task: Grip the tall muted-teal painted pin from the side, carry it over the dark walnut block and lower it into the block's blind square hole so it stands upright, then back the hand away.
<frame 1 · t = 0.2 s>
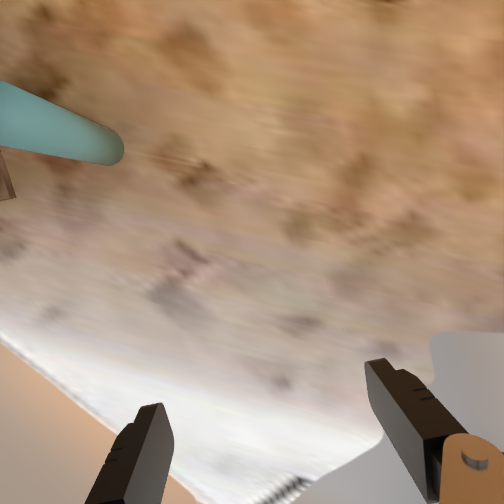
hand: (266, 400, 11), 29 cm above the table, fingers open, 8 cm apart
teal pin: (106, 147, 36), on the table
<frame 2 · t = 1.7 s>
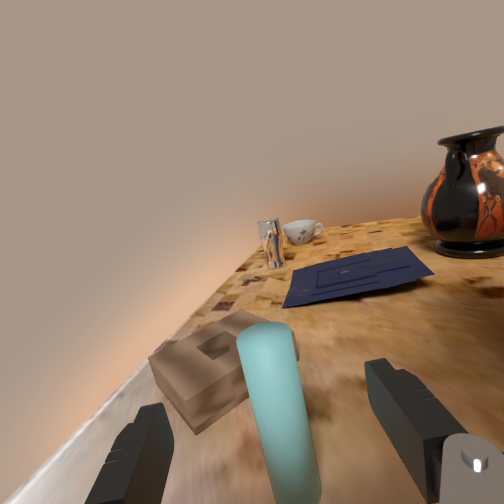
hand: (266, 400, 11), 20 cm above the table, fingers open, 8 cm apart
amphora vase: (473, 250, 73), on the table
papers: (350, 282, 70), on the table
teal pin: (297, 489, 27), on the table
walnut block: (226, 372, 46), on the table
teacup: (305, 243, 114), on the table
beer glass: (277, 267, 92), on the table
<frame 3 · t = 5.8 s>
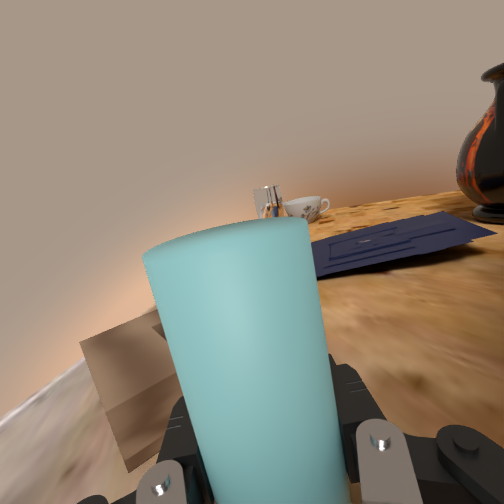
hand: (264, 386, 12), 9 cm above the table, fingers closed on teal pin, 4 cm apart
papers: (373, 255, 54), on the table
walnut block: (198, 365, 30), on the table
teacup: (309, 222, 99), on the table
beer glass: (276, 245, 77), on the table
when the fingers open (11 cm above the table, at t = 11.8 s): teal pin drops 1 cm, resting on walnut block.
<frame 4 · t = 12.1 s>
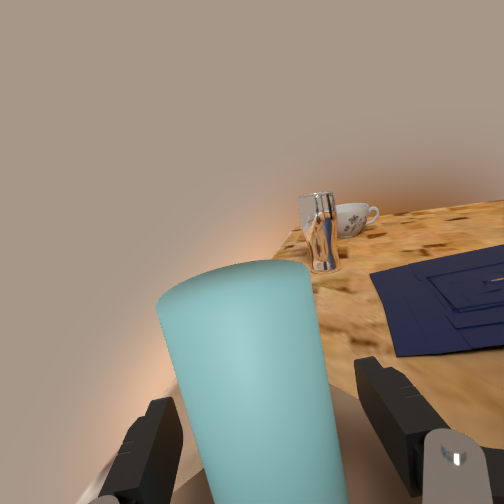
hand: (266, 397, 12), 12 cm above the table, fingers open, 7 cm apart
teacup: (352, 235, 81), on the table
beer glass: (326, 269, 59), on the table
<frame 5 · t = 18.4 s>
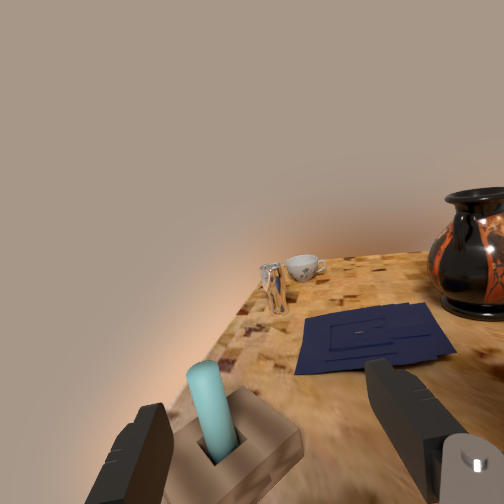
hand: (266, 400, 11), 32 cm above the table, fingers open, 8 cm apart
amphora vase: (480, 307, 71), on the table
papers: (365, 343, 67), on the table
teal pin: (227, 462, 43), point 1 cm above the table, touching walnut block
walnut block: (228, 467, 44), on the table
teacup: (307, 279, 113), on the table
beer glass: (279, 312, 90), on the table
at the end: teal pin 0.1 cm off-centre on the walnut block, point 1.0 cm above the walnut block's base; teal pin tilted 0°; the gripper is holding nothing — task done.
